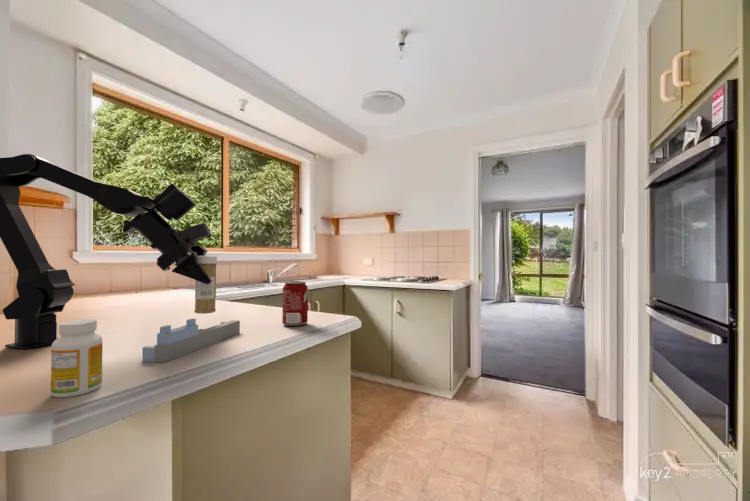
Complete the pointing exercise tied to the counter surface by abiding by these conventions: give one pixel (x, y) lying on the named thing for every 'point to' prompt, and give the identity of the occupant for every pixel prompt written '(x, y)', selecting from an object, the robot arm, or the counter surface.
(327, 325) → the counter surface
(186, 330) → the grey long notched block
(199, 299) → the sprinkles bottle
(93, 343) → the supplement bottle
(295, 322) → the soda can
